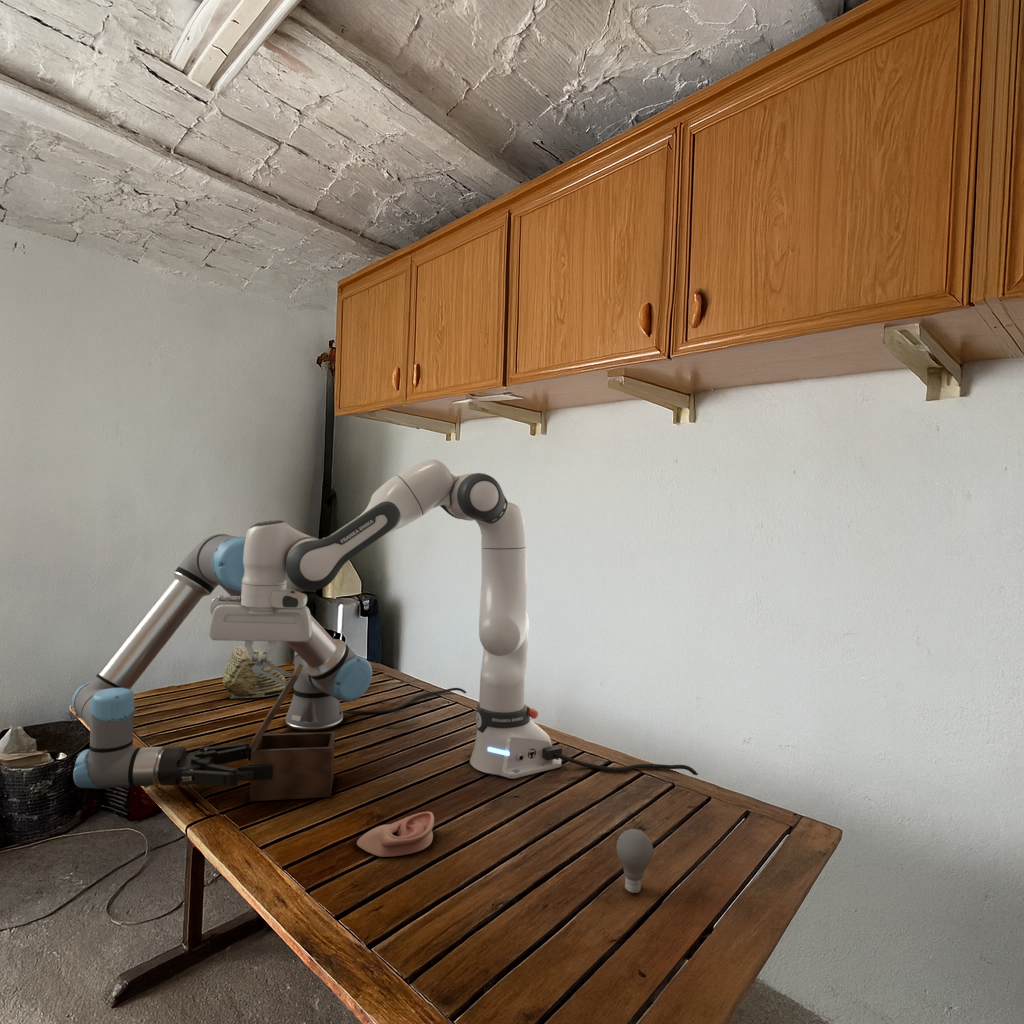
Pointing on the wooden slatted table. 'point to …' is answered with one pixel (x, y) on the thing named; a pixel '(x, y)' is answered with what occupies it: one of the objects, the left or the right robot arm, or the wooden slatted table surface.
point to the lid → (288, 686)
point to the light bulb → (634, 857)
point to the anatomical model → (399, 836)
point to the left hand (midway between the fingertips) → (276, 762)
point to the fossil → (249, 676)
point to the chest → (294, 766)
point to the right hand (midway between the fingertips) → (259, 661)
